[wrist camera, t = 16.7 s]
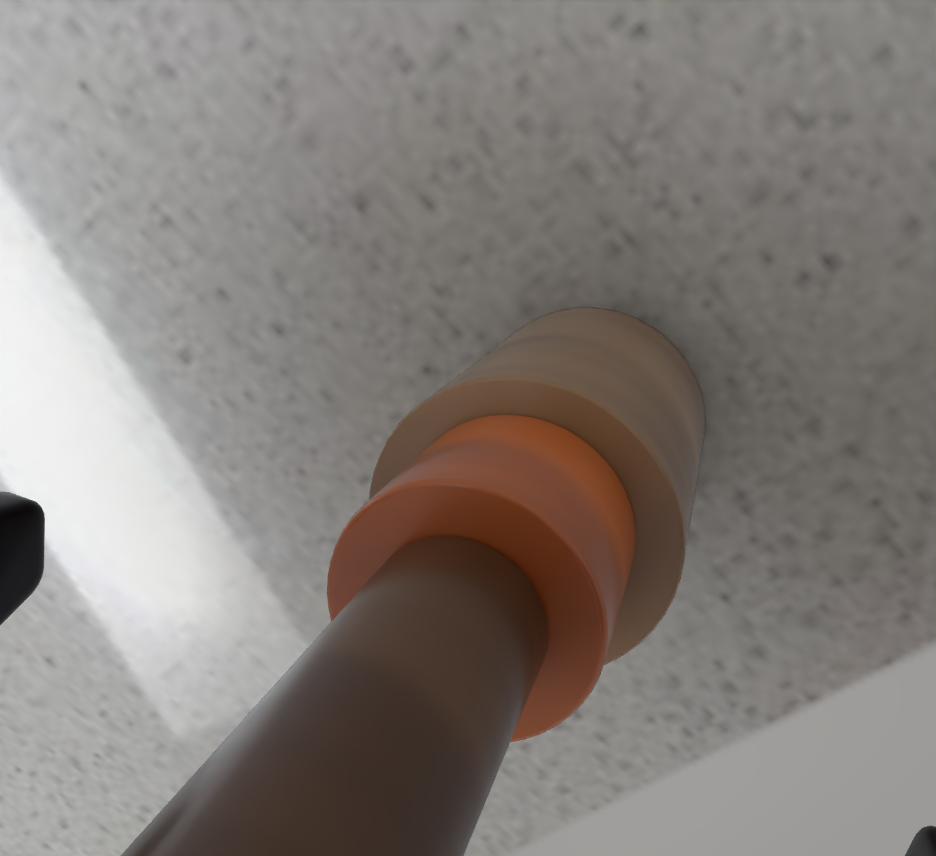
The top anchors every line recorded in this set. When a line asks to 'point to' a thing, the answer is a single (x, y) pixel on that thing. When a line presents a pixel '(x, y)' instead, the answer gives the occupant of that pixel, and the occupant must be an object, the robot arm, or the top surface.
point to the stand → (591, 431)
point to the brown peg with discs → (425, 655)
